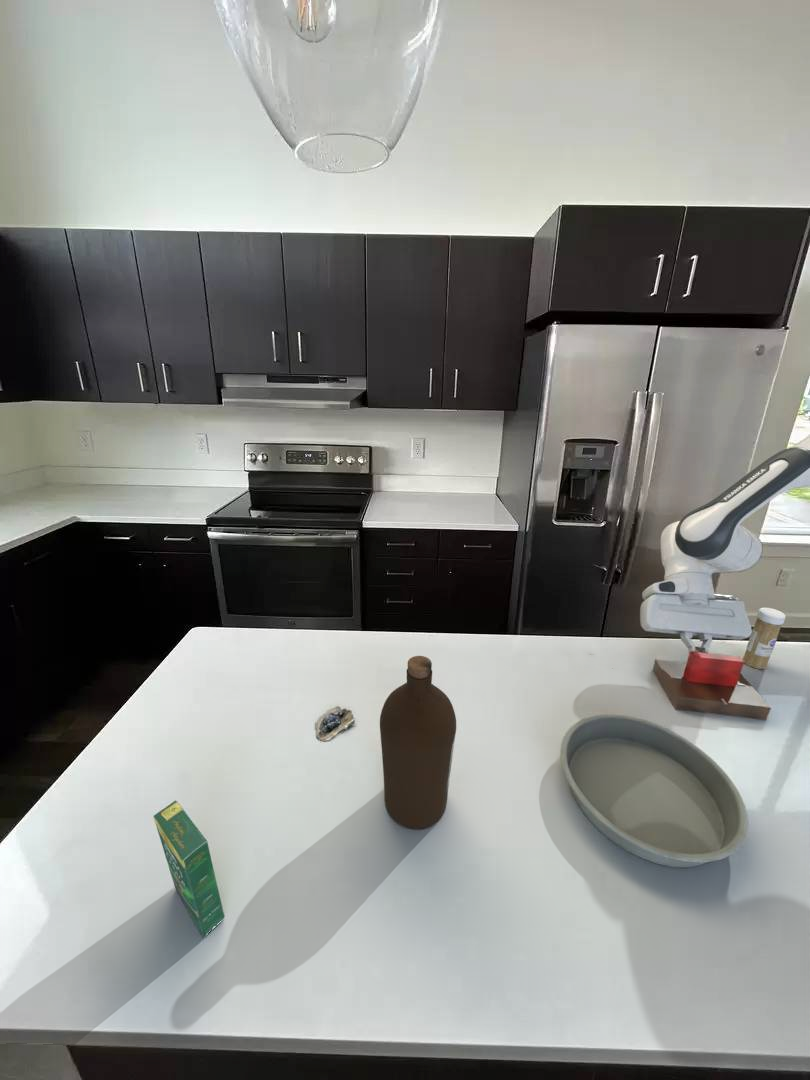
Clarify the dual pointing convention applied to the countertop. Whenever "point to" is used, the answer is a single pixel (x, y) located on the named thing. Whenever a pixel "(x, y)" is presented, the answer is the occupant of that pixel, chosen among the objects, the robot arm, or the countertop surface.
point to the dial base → (709, 694)
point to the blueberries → (333, 723)
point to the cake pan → (653, 791)
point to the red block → (713, 669)
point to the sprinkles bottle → (763, 637)
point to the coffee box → (190, 866)
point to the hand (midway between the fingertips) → (698, 656)
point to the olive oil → (417, 748)
